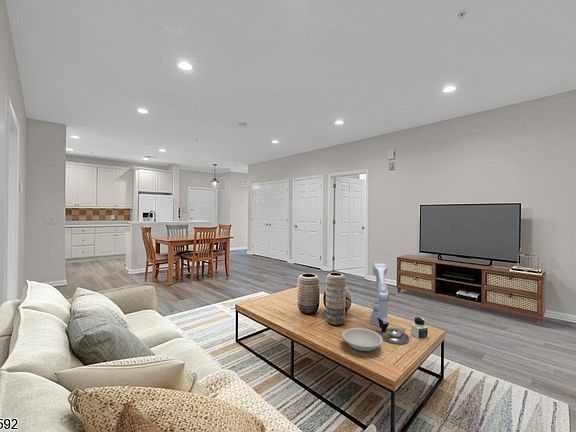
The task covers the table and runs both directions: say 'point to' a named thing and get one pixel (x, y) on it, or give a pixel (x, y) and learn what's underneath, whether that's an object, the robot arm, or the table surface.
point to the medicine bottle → (419, 328)
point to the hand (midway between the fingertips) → (382, 329)
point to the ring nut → (394, 333)
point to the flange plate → (399, 341)
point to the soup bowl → (362, 339)
